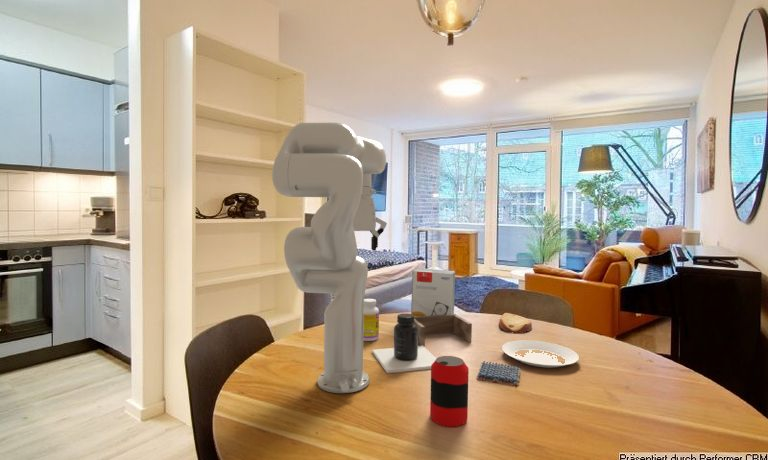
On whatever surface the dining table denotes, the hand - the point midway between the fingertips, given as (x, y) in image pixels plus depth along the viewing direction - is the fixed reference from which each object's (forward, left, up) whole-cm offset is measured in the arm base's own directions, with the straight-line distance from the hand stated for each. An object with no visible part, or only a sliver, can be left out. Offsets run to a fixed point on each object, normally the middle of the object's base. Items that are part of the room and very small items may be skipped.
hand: (358, 250), depth 122 cm
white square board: (-11, -12, -30) cm, 34 cm away
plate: (-19, -50, -31) cm, 62 cm away
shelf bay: (+4, -29, -30) cm, 42 cm away
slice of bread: (+13, -62, -31) cm, 71 cm away
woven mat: (-27, -32, -31) cm, 52 cm away
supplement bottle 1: (+10, -6, -31) cm, 33 cm away
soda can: (-44, -10, -31) cm, 54 cm away
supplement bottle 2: (-11, -12, -30) cm, 34 cm away
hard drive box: (+23, -34, -31) cm, 51 cm away
